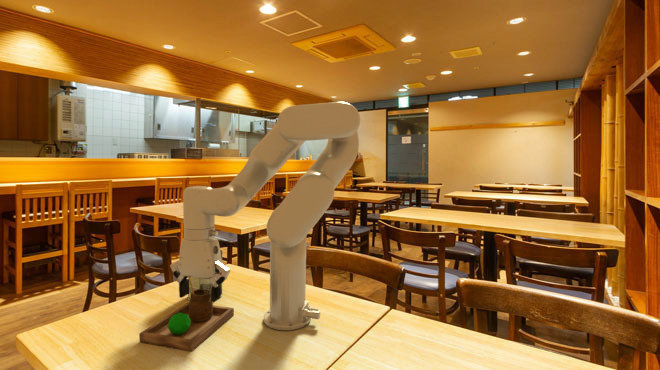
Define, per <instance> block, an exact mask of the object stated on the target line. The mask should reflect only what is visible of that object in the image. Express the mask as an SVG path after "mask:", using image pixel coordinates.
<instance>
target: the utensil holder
mask: <svg viewBox="0 0 660 370" xmlns="http://www.w3.org/2000/svg"><path fill="white" fill-rule="evenodd" d="M188 278H189V282H190V286H191V289H192V292H191V296H190V297H191V299H190V301H189V300H188V301H189V302H188V303H189V318H190V320H191V321H192V322H204V321H207V320H209V319H210V318H211V317H212V312H213V305H214V304H213V303H214V302H212V301H211V289H210V290H209V289H204V288H203V289H197V290H194V291H193V288H192V284H191V281H190V277H189V276H188ZM188 278H187V279H188ZM204 281H205V280H204ZM207 283H208V282H207ZM210 285H211V284H210ZM212 285H213V284H212ZM203 286H204V285H203ZM205 286H206V285H205ZM211 287H212V286H211ZM206 288H207V287H206ZM208 288H210V287H208Z"/></svg>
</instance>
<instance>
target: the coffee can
mask: <svg viewBox="0 0 660 370" xmlns="http://www.w3.org/2000/svg"><path fill="white" fill-rule="evenodd" d="M220 253H221V264H223V250H222V249H220ZM219 275H220V277H221V276H222V272H221V273H219ZM214 278H215V277H214ZM187 279H189V278H187ZM204 280H205V281H204ZM190 281H191V284H192V288H193V291H194V290H197V289H203V288H204V289H209V290H210V289H211V286H212V287H213V285H212V283H211V282H210V280H209V279H203V278H194V277H190ZM216 281H217V280H216ZM207 282H208V283H207ZM210 284H211V285H210ZM203 285H204V286H203ZM205 285H206V286H205ZM206 287H207V288H206ZM208 287H210V288H208ZM191 292H192V289H191V286H190V282H189V294H187V300H188V301H190V299H191V297H190V296H191ZM222 297H223V283H222V284H221V296H220V298H219V299H221V298H222Z"/></svg>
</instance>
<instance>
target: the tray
mask: <svg viewBox="0 0 660 370" xmlns="http://www.w3.org/2000/svg"><path fill="white" fill-rule="evenodd" d="M234 311H235V310H234V307H227V306H221V305H214V304H213V312H212V317H211V318H210V319H209V320H207V321H204V322H192V321H191V323H190V327H189V329H188V330H187V332H185V333H183V334H180V335H177V334H174V333H171V332H170V330H169V329H168V323H169V320H170V318H171V317H172V316H173V315H175V314H177V313H184V314H187V315H188V316H189V302H187V303H186V304H184V305H182V306H181V307H178V309H176V310H174V311H173V312H171V313H170V314H168V315H166V316H165V317H163V318H161V319H160V320H159V321H157V322H154V324H152V325H151V326H149V327H147V328H146V329H144V330H143V331H141V332H139V335H138V336H139V343H141V344H148V345H151V346H152V345H153V346H159V347H165V348H169V349H174V350H180V351H182V350H183V351H186V352H193V351H194V350H196V349H197V348H198V347H199V346H200V345H201V344H202V343H204V342H205V341H206V340H207V339H208V338H210V337H211V336H212V335H213V334H214V333H215V332H216V331H218V330H219V329H220V328H221V327H222V326H223V325H225V323H226V324H227V322H229V320H230V319H231V318H232V317H234V315H235V314H234V313H235V312H234Z"/></svg>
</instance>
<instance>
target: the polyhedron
mask: <svg viewBox="0 0 660 370" xmlns="http://www.w3.org/2000/svg"><path fill="white" fill-rule="evenodd" d="M190 323H191V320H190V318H189V316H188V315H187V314H184V313H177V314H175V315H173V316H172V317H171V318H170V320H169V323H168V329H169V330H170V332H171V333H174V334H177V335H180V334H183V333H185V332H187V330H188V329H189V327H190Z"/></svg>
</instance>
